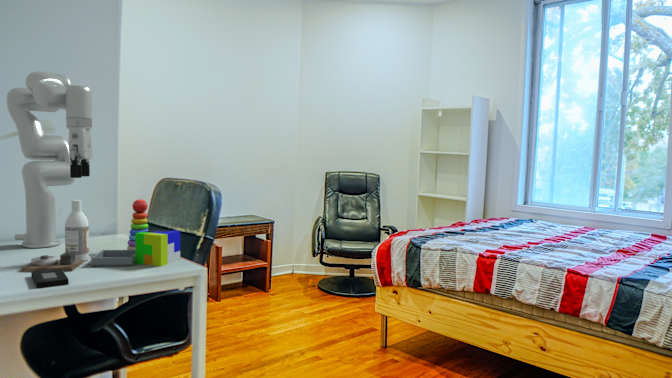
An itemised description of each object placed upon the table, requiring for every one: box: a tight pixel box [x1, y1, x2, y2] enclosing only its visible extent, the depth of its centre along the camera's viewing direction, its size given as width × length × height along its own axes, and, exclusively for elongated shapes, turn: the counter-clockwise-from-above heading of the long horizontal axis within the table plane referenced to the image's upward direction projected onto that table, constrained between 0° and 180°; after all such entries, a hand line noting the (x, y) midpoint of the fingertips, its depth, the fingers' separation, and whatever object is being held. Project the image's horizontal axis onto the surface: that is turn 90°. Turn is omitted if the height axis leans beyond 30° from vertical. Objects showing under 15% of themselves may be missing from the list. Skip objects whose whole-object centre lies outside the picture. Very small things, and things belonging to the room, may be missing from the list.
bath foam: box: [64, 199, 90, 263], centre depth 165 cm, size 7×7×20 cm
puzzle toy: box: [135, 228, 181, 267], centre depth 167 cm, size 10×10×10 cm
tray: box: [90, 249, 136, 268], centre depth 165 cm, size 12×12×3 cm
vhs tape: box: [30, 268, 69, 289], centre depth 142 cm, size 8×14×2 cm, turn 36°
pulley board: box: [20, 247, 84, 272], centre depth 156 cm, size 14×10×6 cm
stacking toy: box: [126, 198, 149, 250], centre depth 184 cm, size 8×8×19 cm
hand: (80, 177), depth 165 cm, fingers open, 9 cm apart
